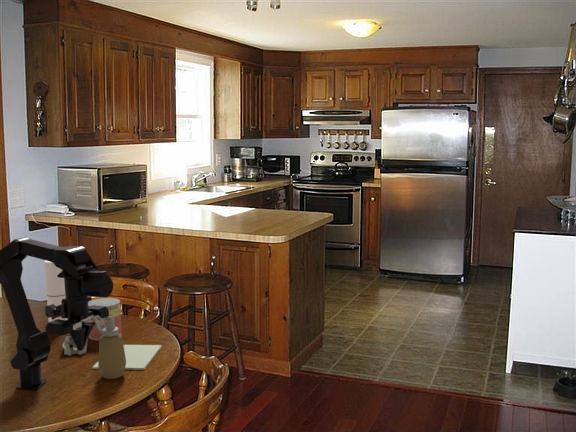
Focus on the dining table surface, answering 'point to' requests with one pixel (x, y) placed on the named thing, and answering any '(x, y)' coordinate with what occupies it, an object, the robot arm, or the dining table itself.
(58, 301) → the cylindrical container
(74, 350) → the egg carton
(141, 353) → the mat
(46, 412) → the dining table surface
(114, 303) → the canned food
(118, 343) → the tan nozzle bottle
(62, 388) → the dining table surface
